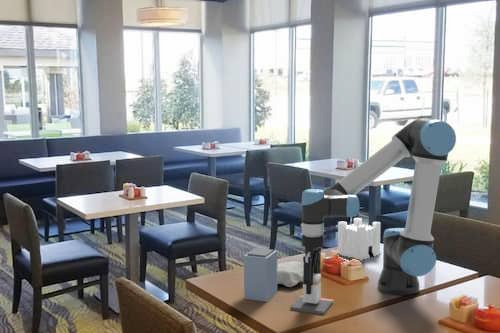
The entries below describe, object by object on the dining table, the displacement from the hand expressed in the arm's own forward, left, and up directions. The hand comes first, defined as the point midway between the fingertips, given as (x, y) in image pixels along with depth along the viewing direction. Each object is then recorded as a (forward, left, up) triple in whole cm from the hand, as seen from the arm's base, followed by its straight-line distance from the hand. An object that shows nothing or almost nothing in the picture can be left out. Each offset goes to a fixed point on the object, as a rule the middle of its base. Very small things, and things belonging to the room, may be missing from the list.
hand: (311, 299), depth 202 cm
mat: (0, 0, -2) cm, 2 cm away
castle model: (-1, -69, -3) cm, 69 cm away
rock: (+17, -21, -3) cm, 27 cm away
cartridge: (0, 0, 0) cm, 0 cm away
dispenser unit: (+20, -3, -2) cm, 21 cm away
